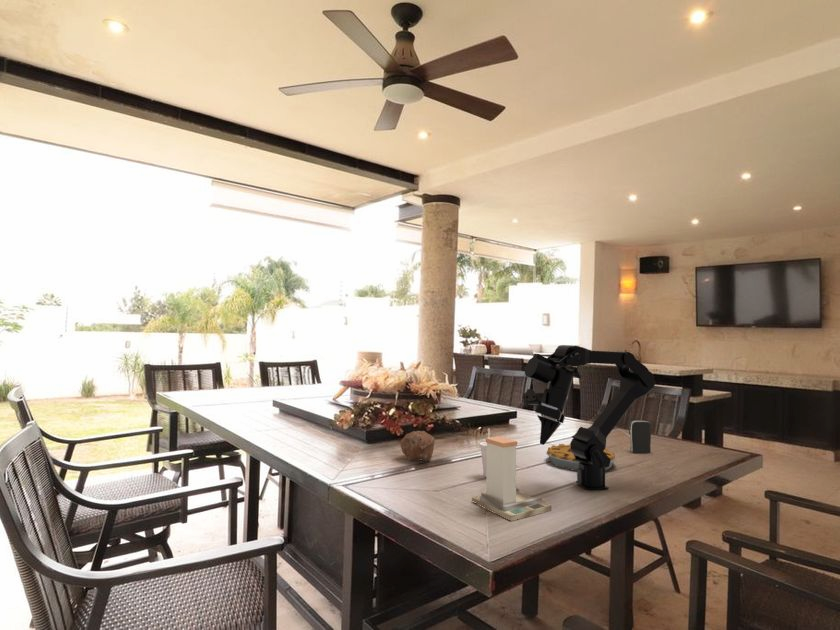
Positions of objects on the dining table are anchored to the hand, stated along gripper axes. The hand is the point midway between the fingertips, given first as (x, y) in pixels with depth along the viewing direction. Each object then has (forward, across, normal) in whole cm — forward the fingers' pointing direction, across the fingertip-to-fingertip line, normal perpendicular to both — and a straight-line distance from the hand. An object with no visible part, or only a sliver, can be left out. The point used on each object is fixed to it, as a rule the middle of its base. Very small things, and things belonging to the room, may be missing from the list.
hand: (541, 444), depth 127 cm
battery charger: (-8, -60, +28) cm, 67 cm away
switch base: (+16, +11, -2) cm, 20 cm away
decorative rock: (+19, -20, -38) cm, 47 cm away
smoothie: (+14, -10, -12) cm, 22 cm away
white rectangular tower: (+16, +14, -4) cm, 22 cm away
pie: (+3, -36, +10) cm, 38 cm away
